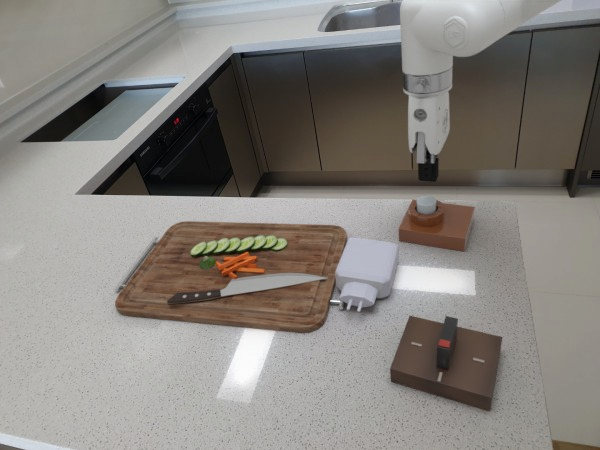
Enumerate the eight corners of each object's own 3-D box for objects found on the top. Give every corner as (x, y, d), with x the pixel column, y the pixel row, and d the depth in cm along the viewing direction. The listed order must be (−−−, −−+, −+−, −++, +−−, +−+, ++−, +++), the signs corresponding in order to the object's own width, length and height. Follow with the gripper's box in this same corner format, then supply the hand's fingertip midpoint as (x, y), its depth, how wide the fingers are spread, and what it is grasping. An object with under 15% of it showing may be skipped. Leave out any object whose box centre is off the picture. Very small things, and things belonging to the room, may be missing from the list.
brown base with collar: (473, 219, 90) (475, 198, 87) (464, 251, 83) (465, 230, 80) (412, 211, 95) (412, 191, 92) (399, 241, 88) (398, 220, 85)
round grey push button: (438, 205, 87) (438, 196, 86) (433, 216, 85) (434, 207, 84) (419, 203, 89) (419, 194, 88) (414, 213, 87) (414, 204, 85)
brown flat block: (500, 350, 66) (502, 336, 64) (490, 411, 59) (492, 397, 57) (409, 328, 71) (409, 314, 69) (390, 381, 64) (389, 367, 63)
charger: (326, 315, 75) (348, 255, 86) (382, 326, 72) (398, 263, 83) (324, 295, 72) (347, 236, 83) (382, 305, 69) (399, 243, 80)
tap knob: (445, 335, 65) (445, 314, 63) (456, 338, 65) (458, 317, 62) (436, 366, 62) (436, 345, 59) (448, 370, 61) (449, 348, 58)
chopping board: (362, 230, 92) (361, 218, 91) (337, 336, 72) (335, 323, 70) (167, 225, 106) (162, 214, 104) (100, 313, 85) (93, 301, 84)
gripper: (441, 98, 65) (440, 204, 76) (461, 62, 76) (458, 160, 86) (389, 97, 69) (396, 199, 79) (415, 63, 79) (418, 157, 90)
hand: (428, 178), depth 83 cm, fingers closed
